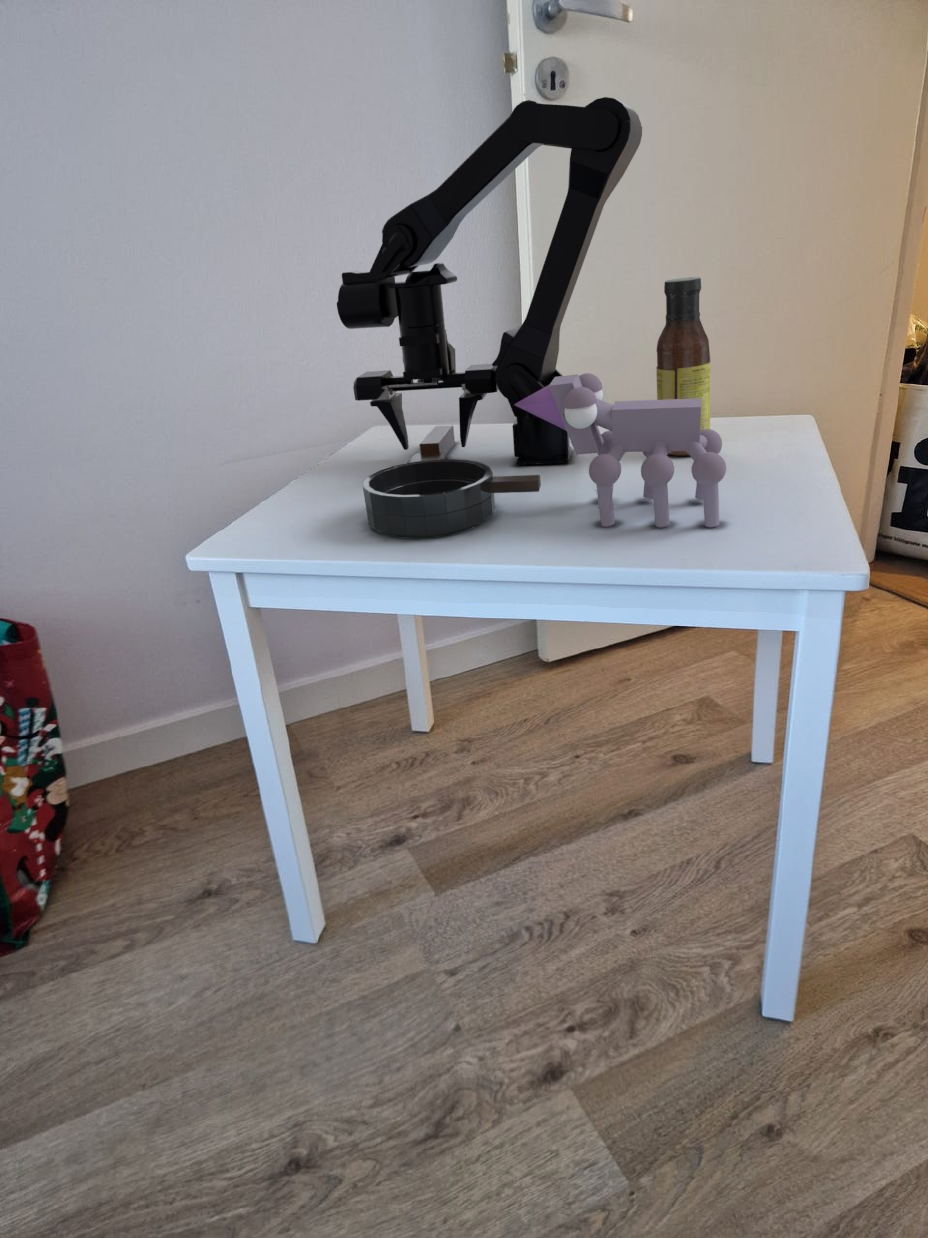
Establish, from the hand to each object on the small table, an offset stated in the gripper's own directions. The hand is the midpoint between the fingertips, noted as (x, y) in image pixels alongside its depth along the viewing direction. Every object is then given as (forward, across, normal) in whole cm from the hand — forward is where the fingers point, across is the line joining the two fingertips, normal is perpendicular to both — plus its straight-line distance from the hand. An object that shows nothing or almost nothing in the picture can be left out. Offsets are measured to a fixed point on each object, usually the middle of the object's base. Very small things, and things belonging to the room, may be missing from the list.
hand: (434, 447), depth 105 cm
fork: (+1, 0, +2) cm, 2 cm away
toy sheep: (+1, -24, +25) cm, 35 cm away
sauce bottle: (+1, -32, +2) cm, 32 cm away
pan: (+1, -5, +25) cm, 26 cm away
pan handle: (-2, -14, +25) cm, 29 cm away
